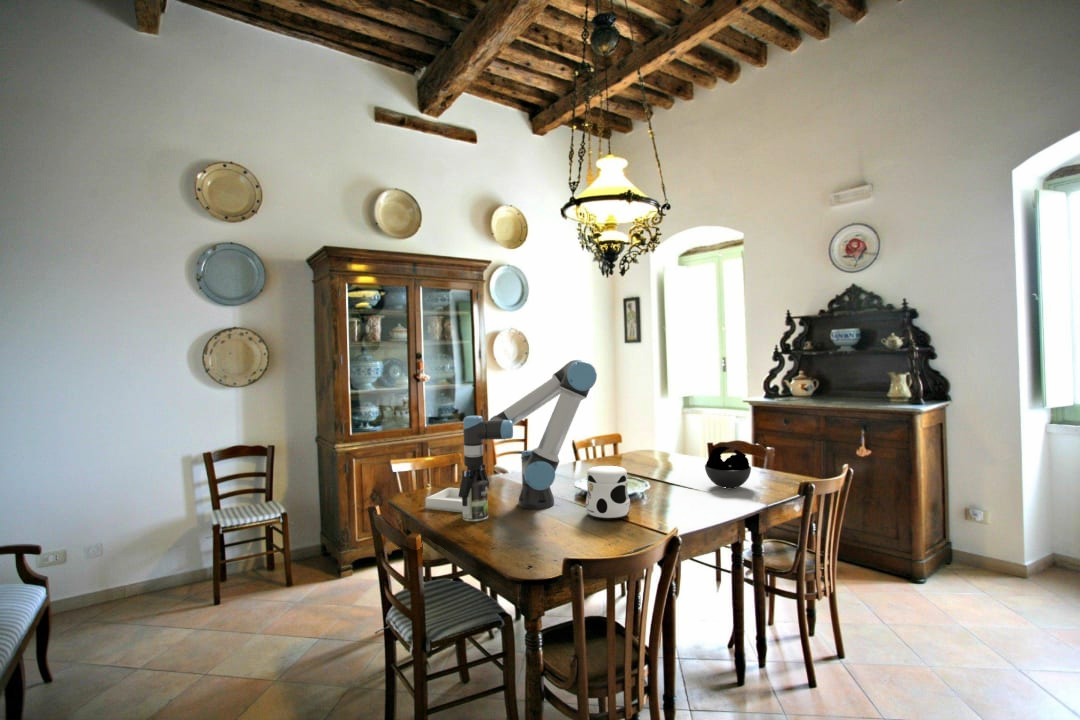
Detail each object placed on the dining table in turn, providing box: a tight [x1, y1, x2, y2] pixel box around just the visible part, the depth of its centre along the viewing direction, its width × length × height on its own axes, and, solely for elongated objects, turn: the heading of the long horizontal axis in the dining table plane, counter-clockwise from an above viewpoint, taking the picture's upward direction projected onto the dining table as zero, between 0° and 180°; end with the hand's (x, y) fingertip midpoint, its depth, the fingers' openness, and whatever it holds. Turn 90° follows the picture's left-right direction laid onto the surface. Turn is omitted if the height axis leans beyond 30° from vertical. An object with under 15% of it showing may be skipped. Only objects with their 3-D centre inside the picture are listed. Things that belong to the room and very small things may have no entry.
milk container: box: [585, 465, 631, 520], centre depth 210 cm, size 17×17×18 cm
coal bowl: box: [704, 445, 752, 489], centre depth 247 cm, size 20×20×19 cm
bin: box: [425, 487, 463, 514], centre depth 231 cm, size 18×18×4 cm
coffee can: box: [462, 479, 489, 522], centre depth 212 cm, size 10×10×14 cm
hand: (474, 509), depth 212 cm, fingers open, 13 cm apart
